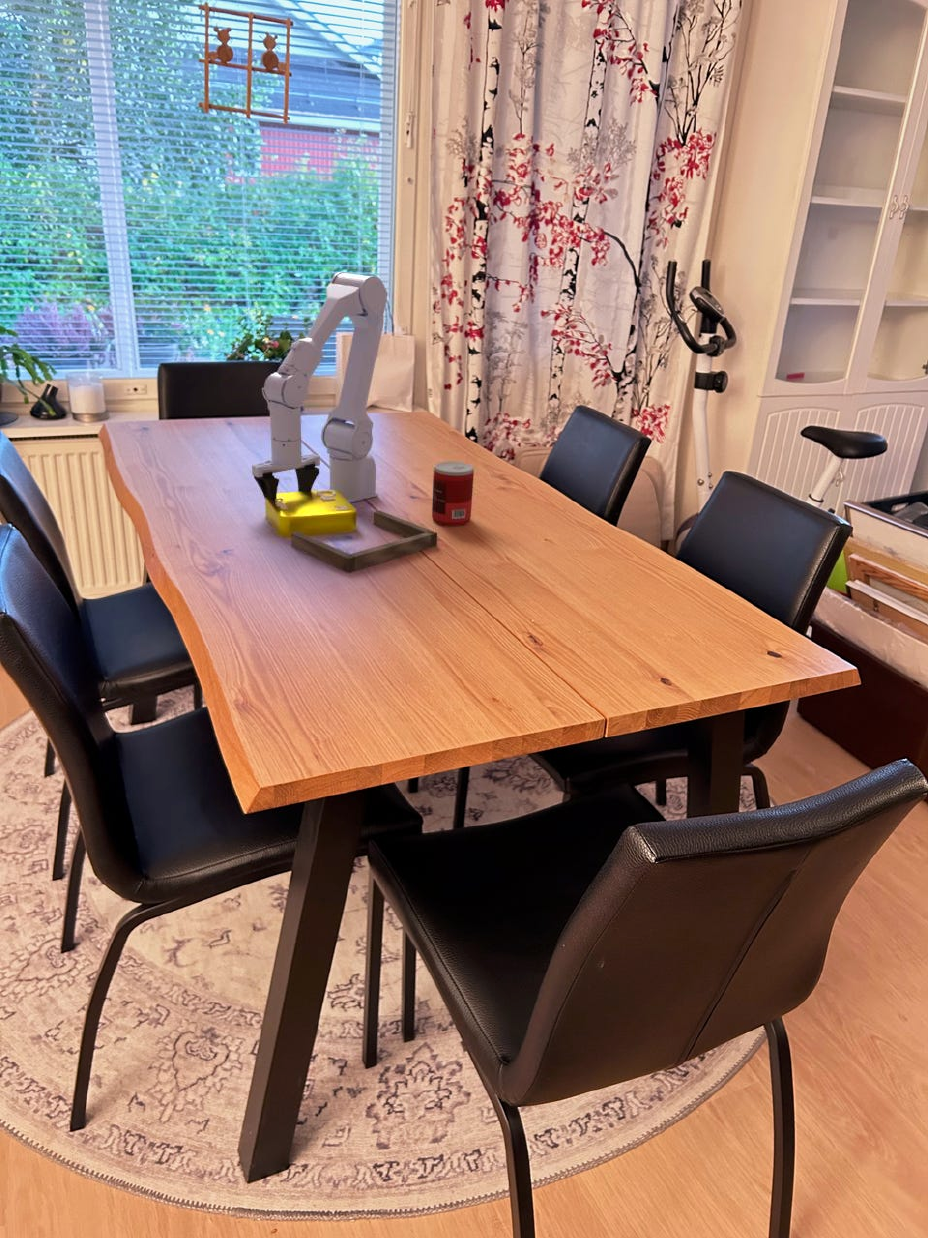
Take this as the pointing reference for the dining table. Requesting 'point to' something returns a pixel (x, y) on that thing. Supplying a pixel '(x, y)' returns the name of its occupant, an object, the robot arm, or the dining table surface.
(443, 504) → the canned food
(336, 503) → the element tile
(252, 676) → the dining table surface
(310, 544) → the walnut holder
